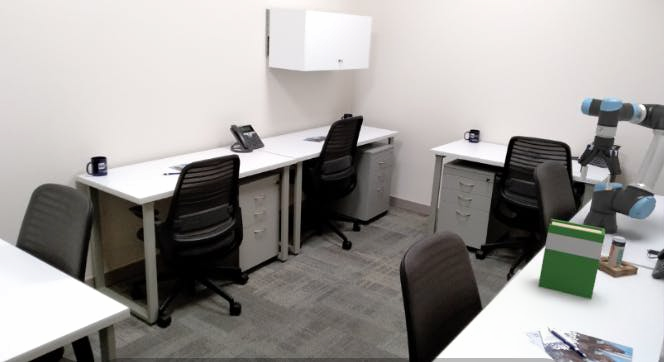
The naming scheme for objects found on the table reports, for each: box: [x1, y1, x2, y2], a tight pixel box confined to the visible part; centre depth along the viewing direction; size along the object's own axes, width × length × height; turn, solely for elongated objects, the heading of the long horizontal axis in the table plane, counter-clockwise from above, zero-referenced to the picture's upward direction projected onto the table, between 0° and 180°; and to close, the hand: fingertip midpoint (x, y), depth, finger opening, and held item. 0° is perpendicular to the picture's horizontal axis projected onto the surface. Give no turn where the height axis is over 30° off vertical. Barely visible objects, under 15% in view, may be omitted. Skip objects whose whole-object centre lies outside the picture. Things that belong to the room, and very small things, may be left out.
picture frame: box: [598, 255, 639, 278], centre depth 210 cm, size 12×12×3 cm
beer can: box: [607, 235, 627, 268], centre depth 209 cm, size 5×5×12 cm
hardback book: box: [537, 218, 606, 300], centre depth 188 cm, size 18×7×24 cm, turn 64°
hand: (595, 185), depth 224 cm, fingers open, 13 cm apart
